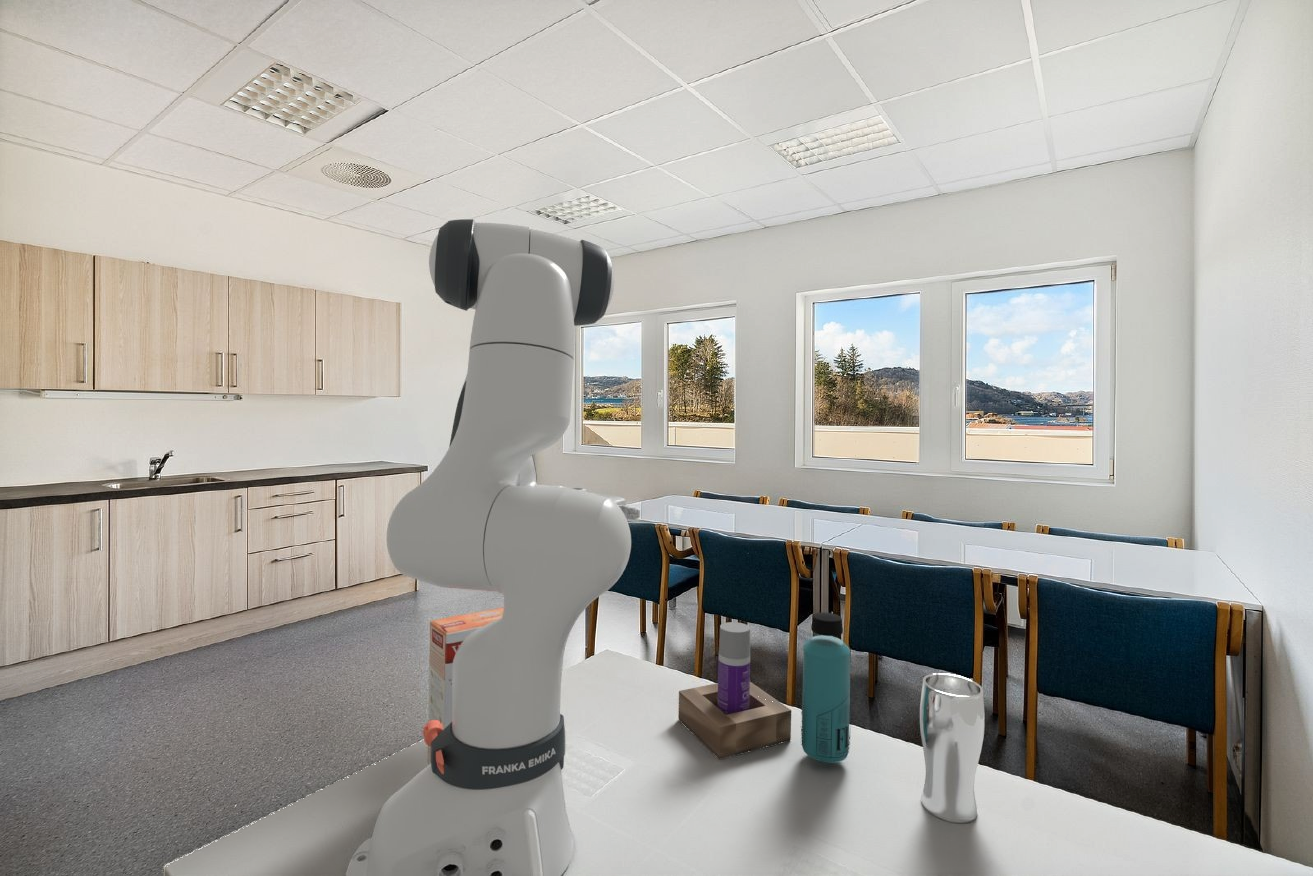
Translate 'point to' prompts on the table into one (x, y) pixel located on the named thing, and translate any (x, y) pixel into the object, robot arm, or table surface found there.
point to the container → (734, 668)
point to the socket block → (734, 721)
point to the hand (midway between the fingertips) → (625, 518)
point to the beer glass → (951, 744)
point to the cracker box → (449, 659)
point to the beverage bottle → (826, 691)
